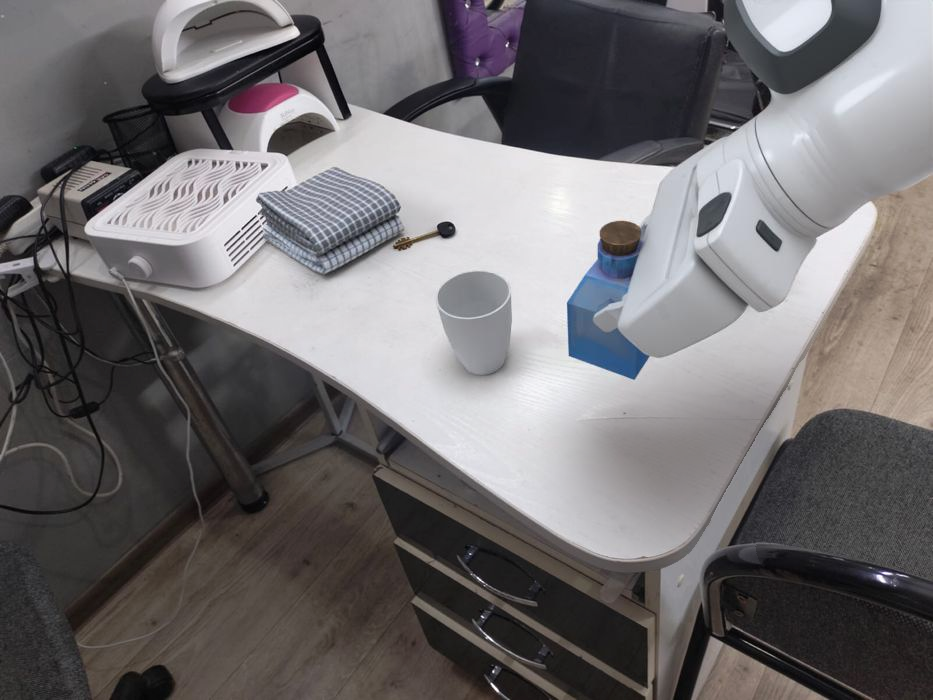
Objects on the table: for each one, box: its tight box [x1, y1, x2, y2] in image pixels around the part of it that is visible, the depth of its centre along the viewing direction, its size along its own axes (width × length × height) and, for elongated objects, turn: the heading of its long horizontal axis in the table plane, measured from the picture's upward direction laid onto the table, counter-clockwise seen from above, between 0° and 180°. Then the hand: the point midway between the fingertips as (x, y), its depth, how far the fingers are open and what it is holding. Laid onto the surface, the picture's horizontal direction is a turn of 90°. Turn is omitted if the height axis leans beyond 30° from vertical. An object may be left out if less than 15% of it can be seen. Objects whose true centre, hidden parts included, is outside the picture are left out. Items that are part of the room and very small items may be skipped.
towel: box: [255, 166, 405, 275], centre depth 100 cm, size 15×18×8 cm
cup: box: [435, 269, 513, 376], centre depth 76 cm, size 8×8×10 cm
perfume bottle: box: [566, 220, 651, 381], centre depth 56 cm, size 6×6×12 cm
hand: (610, 288), depth 56 cm, fingers closed on perfume bottle, 7 cm apart
